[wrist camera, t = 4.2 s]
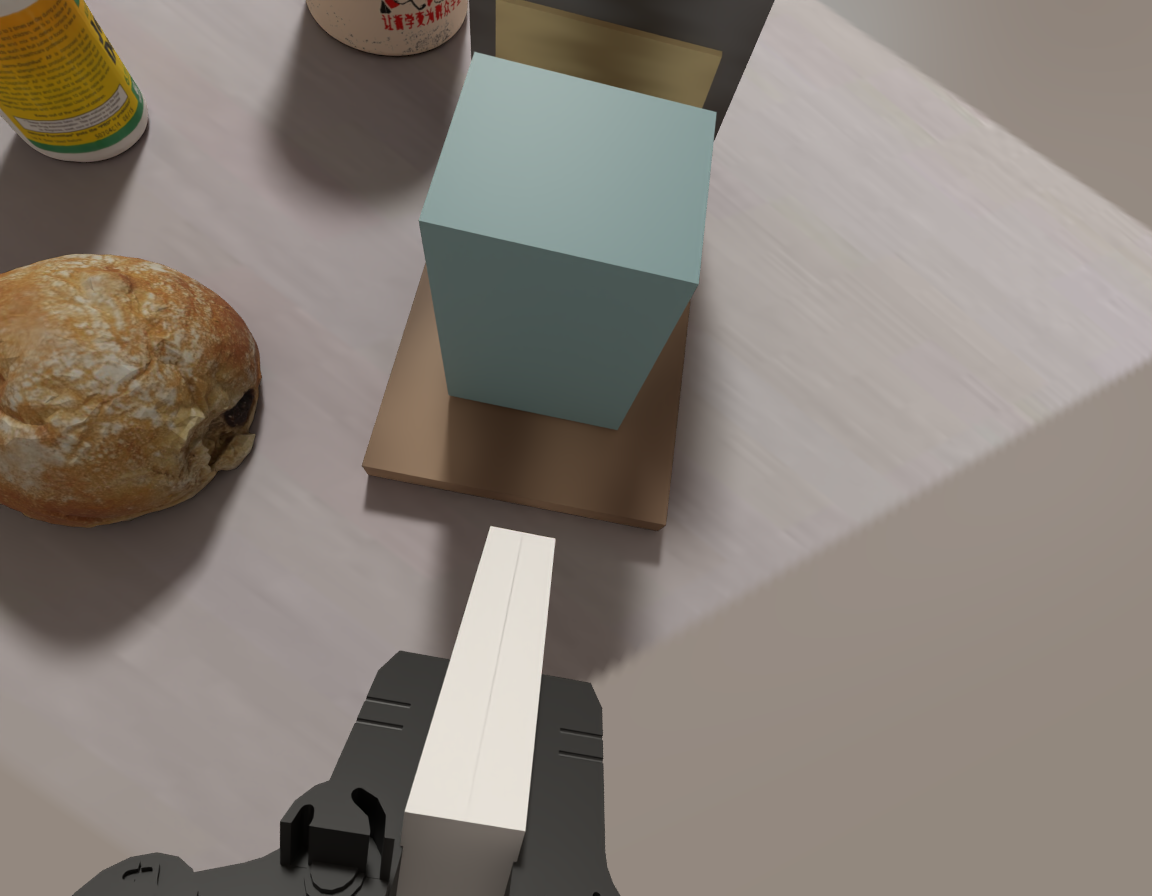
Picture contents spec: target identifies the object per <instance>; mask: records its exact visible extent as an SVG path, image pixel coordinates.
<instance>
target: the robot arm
mask: <svg viewBox="0 0 1152 896" xmlns="http://www.w3.org/2000/svg"><path fill="white" fill-rule="evenodd" d="M554 548H555V538H549V537H544V536H539V535H534V534H529V533H524V532H519V531H513V530H508V529H503V528H498V527H493V526H490V530H489V533H488V536H487V540H486V543H485V546H484V550H483V553H482V556H481V560H480V563H479V566H478V570H477V573H476V576H475V579H474V583H473V586H472V589H471V593H470V596H469V599H468V603H467V606H466V609H465V613H464V616H463V619H462V623H461V626H460V629H459V633H458V636H457V639H456V643H455V646H454V649H453V653H452V656H451V659H450V660H449V659H444V658H438V657H433V656H427V655H421V654H416V653H410V652H405V651H399V652H398V653H396V654H395V655H394V656H393V657H392V658H391V659H390V660H389V661H388V662H387V663H386V664H385V665H384V666H383V667H381V668H380V669H379V670H378V672H377V675H376V677H375V679H374V681H373V684H372V686H371V688H370V690H369V693H368V695H367V698H366V701H365V702H364V704H363V706H362V708H361V711H360V713H359V715H358V717H357V721H356V723H355V724H354V726H353V729H352V731H351V733H350V735H349V738H348V740H347V742H346V744H345V747H344V749H343V751H342V753H341V756H340V758H339V760H338V762H337V765H336V767H335V769H334V771H333V774H332V776H331V778H330V780H329V781H327V782H324V783H321V784H318V785H316V786H314V787H313V788H311V789H310V790H309V791H307V792H306V793H305V794H303V795H302V796H301V797H299V798H298V799H297V800H295V801H294V803H293V804H292V806H291V807H290V808H289V810H288V811H287V813H286V814H285V815H284V817H283V818H282V820H281V821H280V849H278V850H276V851H274V852H272V853H270V854H268V855H266V856H264V857H262V858H258V859H255V860H252V861H248V862H245V863H241V864H235V865H230V866H225V867H220V868H214V869H209V870H204V871H199V872H193V869H192V868H191V867H189V866H188V865H187V864H186V863H185V862H184V861H183V860H182V859H181V858H179V857H177V856H172V855H167V854H162V853H151V854H145V855H140V856H134V857H130V858H128V859H126V860H124V861H122V862H119V863H117V864H115V865H113V866H111V867H109V868H107V869H105V870H103V871H101V872H100V873H99V874H98V875H96V876H95V877H94V878H93V879H91V880H90V881H89V882H88V883H86V884H85V885H84V886H83V887H82V888H80V889H79V890H78V891H76V892H75V893H74V895H72V896H620V894H619V893H618V891H617V889H616V888H615V886H614V884H613V882H612V879H611V876H610V874H609V871H608V868H607V862H606V854H605V824H604V779H603V763H602V761H603V741H602V736H603V730H602V707H601V705H600V703H599V700H598V698H597V696H596V694H595V692H594V689H593V687H592V685H591V683H588V682H582V681H576V680H571V679H565V678H560V677H554V676H549V675H543V674H542V664H543V655H544V645H545V635H546V626H547V616H548V606H549V596H550V587H551V577H552V567H553V558H554Z"/></svg>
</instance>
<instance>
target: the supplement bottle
mask: <svg viewBox="0 0 1152 896" xmlns="http://www.w3.org/2000/svg"><path fill="white" fill-rule="evenodd" d="M0 115H1V116H2V117H3V119H4V120H5V121H6V122H7V123H8V124H9V125H10V127H11V128H12V129H13V130H14V131H15V132H16V133H17V134H18V135H19V136H20V137H21V138H22V139H23V140H24V141H25V142H26V143H27V144H28V145H30V146H31V147H32V148H34V149H35V150H37V151H38V152H40V153H42V154H44V155H46V156H49V157H52V158H55V159H59V160H64V161H76V162H93V161H100V160H104V159H108V158H111V157H114V156H117V155H119V154H120V153H122V152H124V151H126V150H127V149H129V148H130V147H131V146H132V145H134V144H135V143H136V142H137V141H138V140H139V138H140V137H141V136H142V134H143V133H144V131H145V128H146V125H147V121H148V108H147V103H146V101H145V99H144V97H143V95H142V93H141V92H140V90H139V88H138V87H137V85H136V84H135V82H134V80H133V79H132V77H131V76H130V74H129V72H128V71H127V69H126V68H125V66H124V64H123V63H122V61H121V60H120V58H119V56H118V55H117V53H116V52H115V50H114V48H113V47H112V45H111V44H110V42H109V40H108V39H107V37H106V36H105V34H104V32H103V30H102V29H101V27H100V26H99V24H98V23H97V21H96V20H95V18H94V16H93V15H92V13H91V11H90V10H89V8H88V6H87V5H86V3H85V2H84V0H0Z"/></svg>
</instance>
